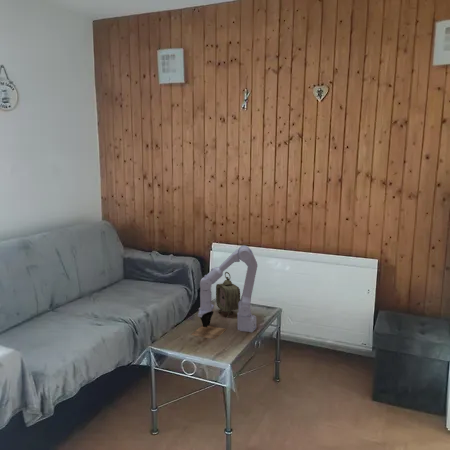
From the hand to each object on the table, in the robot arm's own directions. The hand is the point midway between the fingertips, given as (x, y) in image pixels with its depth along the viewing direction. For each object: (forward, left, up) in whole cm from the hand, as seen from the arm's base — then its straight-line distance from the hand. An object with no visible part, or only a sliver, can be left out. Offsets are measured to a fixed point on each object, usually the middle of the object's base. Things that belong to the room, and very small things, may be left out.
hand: (206, 325), depth 225 cm
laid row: (-3, +7, -3) cm, 8 cm away
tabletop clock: (-1, -26, -3) cm, 26 cm away
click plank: (-3, 0, -3) cm, 4 cm away
